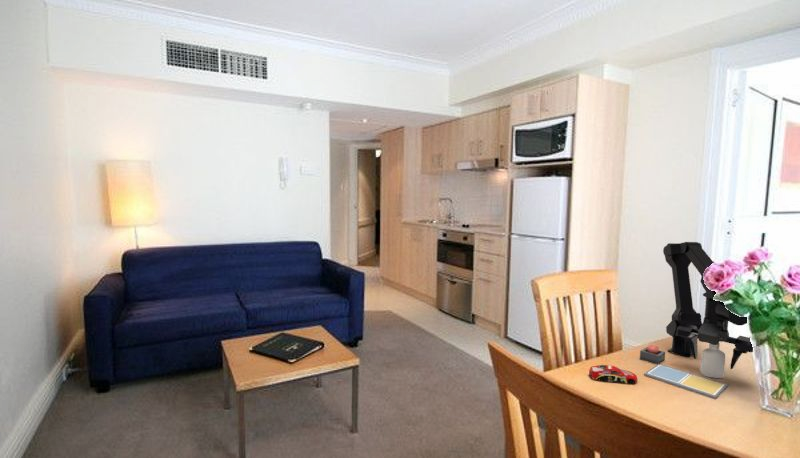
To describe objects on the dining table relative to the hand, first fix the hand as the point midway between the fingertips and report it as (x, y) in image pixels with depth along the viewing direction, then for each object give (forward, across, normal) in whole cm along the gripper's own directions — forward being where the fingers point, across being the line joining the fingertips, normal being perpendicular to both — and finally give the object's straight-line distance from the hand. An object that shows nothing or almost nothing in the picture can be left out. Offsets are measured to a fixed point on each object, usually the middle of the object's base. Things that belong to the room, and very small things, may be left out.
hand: (712, 363), depth 123 cm
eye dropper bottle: (+4, 0, 0) cm, 4 cm away
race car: (+4, -18, -27) cm, 33 cm away
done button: (+1, -16, -2) cm, 16 cm away
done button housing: (+4, -16, -2) cm, 17 cm away
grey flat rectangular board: (+4, -4, -11) cm, 12 cm away
